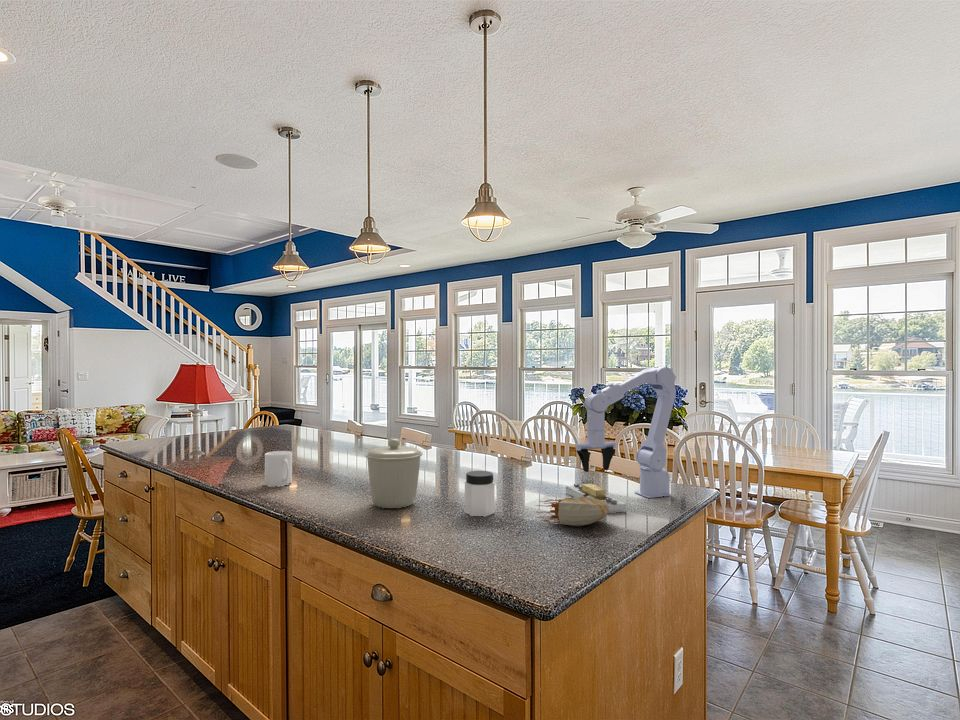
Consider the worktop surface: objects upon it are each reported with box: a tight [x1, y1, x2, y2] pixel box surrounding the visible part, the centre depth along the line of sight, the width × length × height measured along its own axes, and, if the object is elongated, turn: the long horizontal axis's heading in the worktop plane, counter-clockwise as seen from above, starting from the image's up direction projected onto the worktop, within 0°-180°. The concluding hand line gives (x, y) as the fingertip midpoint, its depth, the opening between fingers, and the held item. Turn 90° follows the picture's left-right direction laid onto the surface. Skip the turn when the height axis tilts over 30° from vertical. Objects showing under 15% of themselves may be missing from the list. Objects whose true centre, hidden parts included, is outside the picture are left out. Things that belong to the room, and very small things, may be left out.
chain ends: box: [565, 483, 627, 514], centre depth 172 cm, size 7×26×3 cm, turn 19°
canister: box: [364, 438, 424, 509], centre depth 168 cm, size 18×18×21 cm
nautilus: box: [536, 496, 610, 527], centre depth 150 cm, size 8×22×15 cm
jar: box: [464, 470, 495, 518], centre depth 159 cm, size 9×8×12 cm
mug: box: [264, 450, 293, 486], centre depth 194 cm, size 10×12×12 cm
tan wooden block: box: [581, 483, 607, 500], centre depth 172 cm, size 4×9×5 cm, turn 18°
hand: (596, 470), depth 176 cm, fingers open, 7 cm apart
